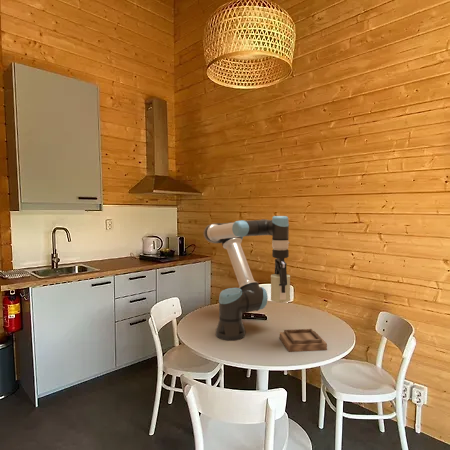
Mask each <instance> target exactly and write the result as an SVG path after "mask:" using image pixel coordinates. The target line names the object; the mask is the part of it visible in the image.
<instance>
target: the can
mask: <svg viewBox="0 0 450 450" xmlns="http://www.w3.org/2000/svg"><path fill="white" fill-rule="evenodd" d="M279 284H280V276H279V274H275V273H273V274H272V273H271V275H270V301H271V302H274V303H275V302H276V303H289V302H291V275H290V274H287V285H286V300H280V286H279Z"/></svg>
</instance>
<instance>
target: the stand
mask: <svg viewBox="0 0 450 450" xmlns="http://www.w3.org/2000/svg"><path fill="white" fill-rule="evenodd" d="M279 339H280V341H281V342H282V344H283V345H284V347H285V348H286V350H287V351H288V352H289V353H290V352H291V353H292V352H308V351H309V352H313V351H327V350H328V344H327V342H326V341H325V340H324V339H323V338H322V336H320V335H319V334H318V333H317V332H316V331H315V330H313V329H312V328H298V329H296V328H295V329H283V331H280V332H279Z"/></svg>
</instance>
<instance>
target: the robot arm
mask: <svg viewBox="0 0 450 450" xmlns="http://www.w3.org/2000/svg"><path fill="white" fill-rule="evenodd" d="M289 227H290V224H289V217H288V216H287V215H274V216H272V218H271V219H255V220H254V219H252V220H249V219H248V220H243V219H242V220H236V221H234V222H222V223H221V222H213V223H210V224H208V225H206V227H205V228H203V229H204V230H203V237H204V239H205V240H206V241H207V242H209V243H210V244H211V243H212V244H221V245H222V247H223V249H224V250H226V251H227V254H228V257H229V260H230V264H231V266H232V268H233V271H234V275H235V278H236V280H237V282H238V287H229V288H225V289H223V290H221V291H220V293H219V297H218V298H219V299H218V303H219V304H218V309H219V310H218V311H219V312H218V317H219V318H218V323H217V325H216V328H215V337H217V338H218V339H221V340H223V341H224V340H225V341H237V340H241V339H243V338H244V337H246V329H245V326H244V325H245V324H244V323H243V319H242V318H243V314H244V313H252V312H258V311H261V310H263V309H265V308H266V306H267V303H268V301H269V300H268V298H269V297H268V293H267V290H266V288H264V287H263V286H260V284H259V282H258V281H256V280H255V279H254V276H253V273H252V271H251V269H250V266H249V263H248V260H247V257H246V255H245V252H244V250H243V247H242V245H241V244H242V242H243V239H244V238H245V237H255V236H259V237H260V236H272V239H271V240H272V241H271V245H272V247H271V248H272V255H271V256H272V258H273V259H274V274H279V276H280V284H279V286H280V300H286V285H287V275H288V273H287V272H288V271H287V262H286V261H285V259H287V258H289V257H290V255H289V253H290V252H289V244H290V243H291V242H290V241H289V237H290V235H289V234H290V233H289V232H290V231H289Z"/></svg>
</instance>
